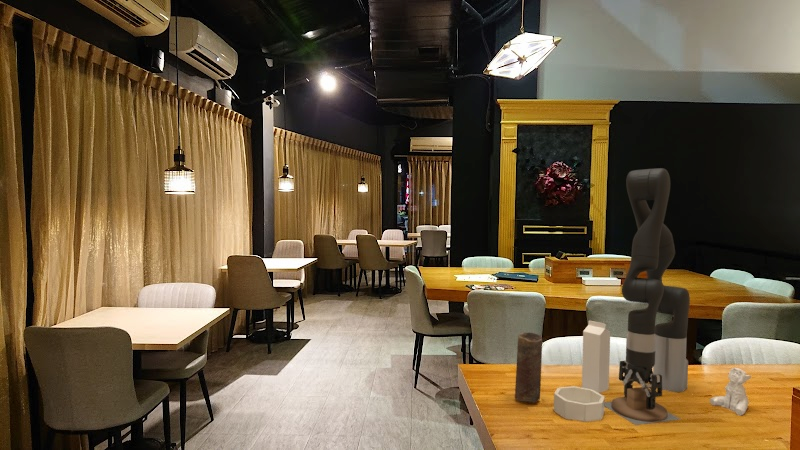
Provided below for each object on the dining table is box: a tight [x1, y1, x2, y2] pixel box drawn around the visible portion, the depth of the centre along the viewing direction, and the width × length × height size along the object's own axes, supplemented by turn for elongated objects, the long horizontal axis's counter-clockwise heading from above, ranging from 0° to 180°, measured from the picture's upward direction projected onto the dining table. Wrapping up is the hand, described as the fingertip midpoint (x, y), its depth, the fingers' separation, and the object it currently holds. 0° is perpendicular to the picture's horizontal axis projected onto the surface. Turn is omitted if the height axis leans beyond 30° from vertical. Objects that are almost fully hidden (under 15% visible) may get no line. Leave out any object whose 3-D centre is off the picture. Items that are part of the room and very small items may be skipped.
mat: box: [604, 401, 681, 426], centre depth 140 cm, size 15×15×1 cm
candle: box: [514, 331, 543, 404], centre depth 147 cm, size 8×7×20 cm
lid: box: [611, 386, 668, 423], centre depth 140 cm, size 14×14×6 cm
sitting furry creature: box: [709, 367, 752, 416], centre depth 144 cm, size 10×9×12 cm
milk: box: [581, 320, 611, 394], centre depth 156 cm, size 6×6×22 cm
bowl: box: [553, 385, 606, 422], centre depth 139 cm, size 13×13×5 cm
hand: (638, 403), depth 140 cm, fingers open, 8 cm apart
